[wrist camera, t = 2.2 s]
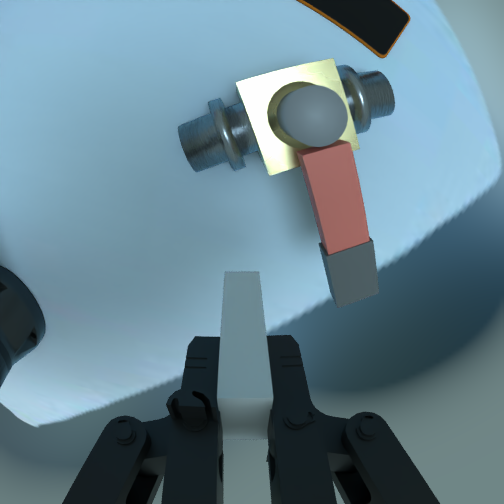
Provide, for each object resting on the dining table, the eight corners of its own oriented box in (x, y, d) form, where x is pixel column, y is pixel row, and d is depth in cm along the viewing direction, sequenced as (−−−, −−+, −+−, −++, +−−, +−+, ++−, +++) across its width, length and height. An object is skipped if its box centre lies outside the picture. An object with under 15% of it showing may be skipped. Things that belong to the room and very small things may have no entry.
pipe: (206, 177, 28) (196, 202, 20) (180, 112, 25) (158, 112, 17) (375, 126, 26) (420, 135, 18) (357, 62, 23) (398, 49, 15)
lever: (323, 281, 24) (336, 308, 21) (269, 97, 17) (276, 94, 14) (362, 267, 24) (380, 292, 20) (319, 84, 17) (337, 79, 14)
